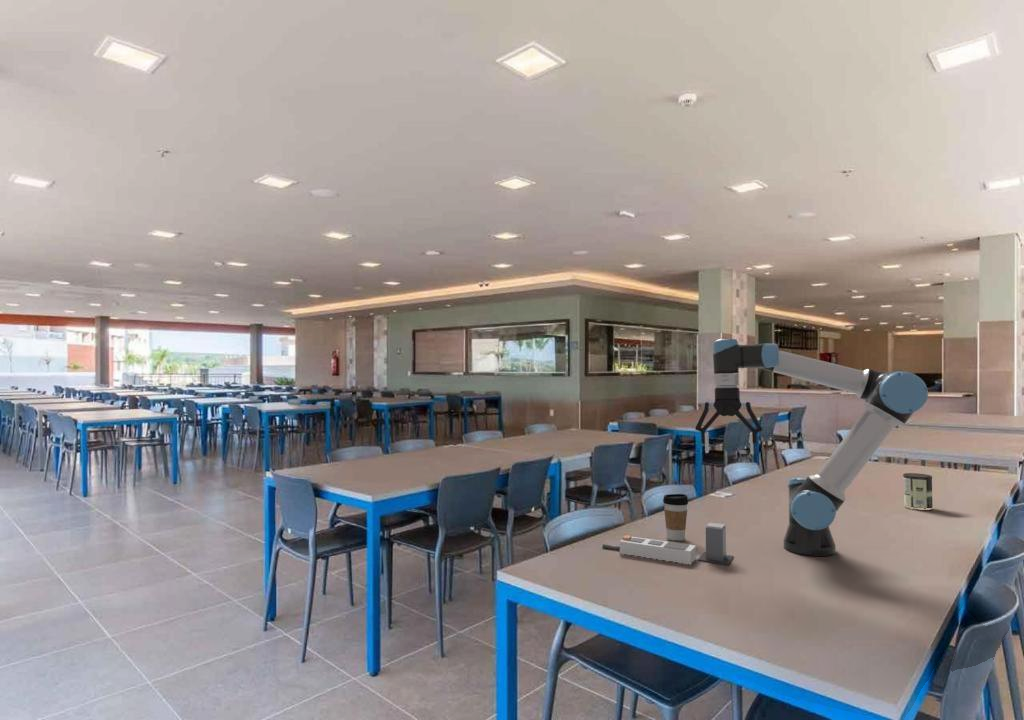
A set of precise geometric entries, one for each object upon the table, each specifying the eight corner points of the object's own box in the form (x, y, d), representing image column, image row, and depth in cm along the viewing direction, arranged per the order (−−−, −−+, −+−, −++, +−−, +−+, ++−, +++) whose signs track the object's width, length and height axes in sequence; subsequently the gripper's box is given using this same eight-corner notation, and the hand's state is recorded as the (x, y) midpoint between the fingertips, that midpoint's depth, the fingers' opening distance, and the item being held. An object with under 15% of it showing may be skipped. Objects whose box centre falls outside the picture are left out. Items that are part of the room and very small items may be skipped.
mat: (733, 557, 183) (733, 556, 183) (728, 565, 176) (728, 564, 176) (703, 553, 188) (703, 551, 188) (697, 560, 180) (697, 559, 180)
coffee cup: (689, 542, 200) (689, 498, 200) (663, 541, 201) (663, 497, 202) (687, 535, 208) (687, 493, 208) (662, 534, 210) (662, 492, 210)
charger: (725, 556, 183) (725, 524, 183) (723, 561, 178) (722, 527, 179) (709, 554, 185) (708, 522, 185) (705, 558, 181) (705, 525, 181)
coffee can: (921, 505, 256) (921, 472, 256) (938, 511, 245) (938, 477, 246) (898, 505, 256) (897, 472, 256) (913, 511, 245) (913, 477, 246)
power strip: (695, 558, 182) (695, 542, 182) (690, 564, 176) (690, 548, 176) (606, 545, 197) (606, 530, 197) (599, 550, 190) (599, 535, 191)
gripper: (684, 387, 192) (687, 453, 191) (768, 386, 181) (770, 456, 180) (689, 387, 199) (691, 450, 198) (769, 386, 188) (772, 453, 187)
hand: (729, 453), depth 189 cm, fingers open, 13 cm apart
